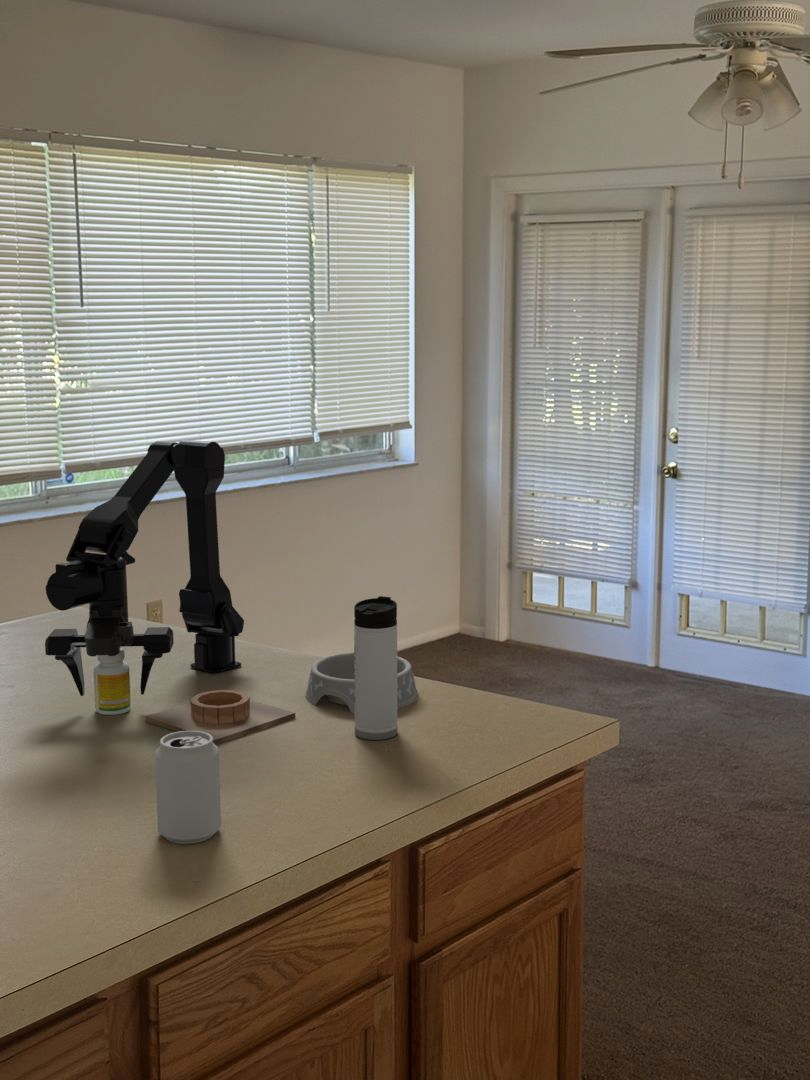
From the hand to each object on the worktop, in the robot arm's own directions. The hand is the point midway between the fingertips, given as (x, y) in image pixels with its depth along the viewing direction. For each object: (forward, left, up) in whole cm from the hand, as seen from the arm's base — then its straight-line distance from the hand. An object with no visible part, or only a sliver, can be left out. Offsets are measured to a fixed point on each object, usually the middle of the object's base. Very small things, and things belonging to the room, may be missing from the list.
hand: (112, 694), depth 195 cm
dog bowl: (-31, +24, -3) cm, 39 cm away
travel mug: (-19, +38, -3) cm, 43 cm away
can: (+22, +45, -3) cm, 50 cm away
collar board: (-8, +16, -2) cm, 18 cm away
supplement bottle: (0, 0, -3) cm, 3 cm away
